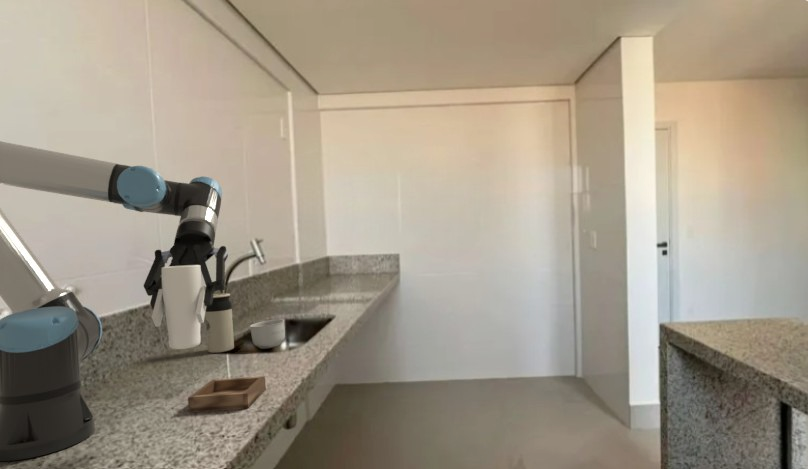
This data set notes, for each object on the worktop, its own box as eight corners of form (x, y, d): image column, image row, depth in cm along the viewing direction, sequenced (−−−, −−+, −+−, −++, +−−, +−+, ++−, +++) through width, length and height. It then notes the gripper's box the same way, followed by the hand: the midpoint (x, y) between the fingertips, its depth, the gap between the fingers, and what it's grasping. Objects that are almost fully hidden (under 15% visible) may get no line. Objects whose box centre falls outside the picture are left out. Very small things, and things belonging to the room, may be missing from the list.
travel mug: (234, 346, 158) (230, 292, 158) (234, 351, 150) (230, 294, 151) (208, 349, 155) (205, 295, 155) (207, 354, 148) (203, 297, 148)
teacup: (277, 350, 148) (275, 324, 148) (245, 351, 150) (243, 325, 150) (294, 340, 162) (293, 317, 162) (264, 341, 163) (263, 318, 163)
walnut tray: (188, 412, 95) (188, 397, 95) (213, 393, 107) (212, 379, 107) (248, 408, 95) (247, 393, 95) (265, 389, 107) (264, 376, 107)
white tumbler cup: (189, 351, 83) (185, 266, 84) (156, 351, 85) (152, 268, 85) (212, 342, 90) (208, 264, 90) (181, 342, 91) (177, 265, 92)
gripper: (247, 241, 104) (238, 327, 88) (152, 247, 101) (125, 337, 85) (241, 216, 99) (231, 302, 83) (141, 221, 96) (110, 312, 80)
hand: (178, 320), depth 84 cm, fingers closed on white tumbler cup, 7 cm apart
